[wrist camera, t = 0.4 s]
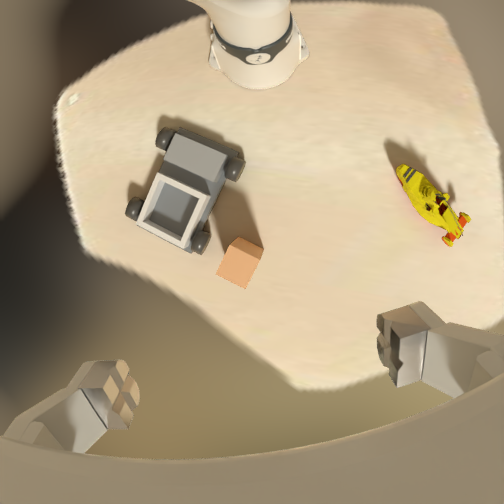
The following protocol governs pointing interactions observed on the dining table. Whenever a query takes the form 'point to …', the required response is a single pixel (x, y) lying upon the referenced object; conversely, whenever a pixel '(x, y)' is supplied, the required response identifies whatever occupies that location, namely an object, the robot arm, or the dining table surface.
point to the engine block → (240, 262)
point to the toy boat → (431, 203)
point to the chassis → (185, 188)
